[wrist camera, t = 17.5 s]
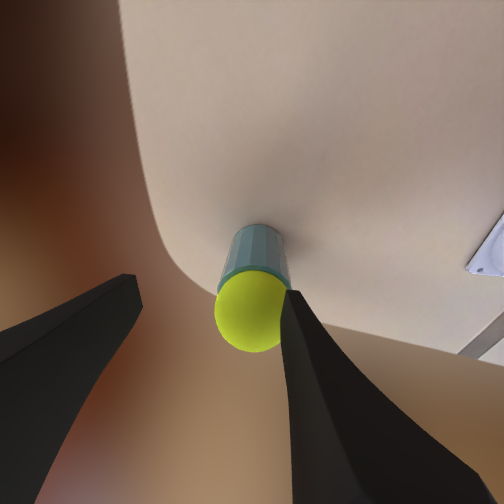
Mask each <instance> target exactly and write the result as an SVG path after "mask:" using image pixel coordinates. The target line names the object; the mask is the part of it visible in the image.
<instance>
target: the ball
mask: <svg viewBox="0 0 504 504" xmlns="http://www.w3.org/2000/svg"><path fill="white" fill-rule="evenodd" d="M286 289H287V288H286V286H285V285H284V284H283V283H282V282H281V281H280V280H279V279H278V278H277V277H275V276H274V275H272V274H270V273H267V272H264V271H259V270H248V271H244V272H241V273H238V274H236V275H234V276H233V277H231V278H230V279H229V280H228V281H227V282H226V283H225V284H224V285H223V287H222V288H221V290H220V291H219V293H218V296H217V299H216V303H215V319H216V324H217V326H218V329H219V331H220V332H221V334H222V336H223V337H224V338H225V339H226V340H227V341H228V342H229V343H230V344H231V345H233V346H234V347H236V348H238V349H240V350H243V351H247V352H262V351H265V350H268V349H270V348H273V347H274V346H276V345H277V344H278V343H280V342H281V341H280V317H281V312H282V307H283V302H284V297H285V292H286ZM287 290H288V289H287Z"/></svg>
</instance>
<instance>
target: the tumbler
mask: <svg viewBox="0 0 504 504" xmlns="http://www.w3.org/2000/svg"><path fill="white" fill-rule="evenodd" d="M248 270H259V271H264V272H267V273H270V274H272V275H274V276H275V277H277V278H278V279H279V280H280V281H281V282H282V283H283V284H284V285H285V286H286V288H287V289H288V290H293V289H292V284H291V278H290V273H289V267H288V262H287V256H286V251H285V247H284V242H283V240H282V238H281V236H280V235H279V234H278V233H277V232H276V231H275V230H274V229H272V228H270V227H268V226H265V225H250V226H247V227H245V228H243V229H241V230H240V231H239V232H238V233H237V234H236V235H235V237H234V239H233V241H232V243H231V246H230V249H229V252H228V256H227V259H226V262H225V265H224V268H223V272H222V275H221V278H220V281H219V284H218V293H219V291H220V290H221V288H222V287H223V285H224V284H225V283H226V282H227V281H228V280H229V279H230V278H231V277H233V276H234V275H236V274H238V273H241V272H244V271H248Z"/></svg>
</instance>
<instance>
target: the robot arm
mask: <svg viewBox="0 0 504 504" xmlns="http://www.w3.org/2000/svg"><path fill="white" fill-rule="evenodd" d="M466 271H468V272H469V273H472V274H482V275H492V276H502V277H504V214H503V216H502V217H501V219H500V220H499V221H498V223H497V224H496V226H495V227H494V229H493V230H492V231H491V233H490V234H489V236H488V237H487V239H486V240H485V241H484V243H483V244H482V246H481V247H480V249H479V250H478V251H477V253H476V254H475V256H474V257H473V259H472V260H471V261H470V263H469V264H468V266H467V267H466ZM142 308H143V305H142V301H141V296H140V292H139V288H138V284H137V280H136V276H135V275H131V274H121V275H119V276H117V277H115V278H112V279H111V280H108V281H106V282H104V283H103V284H101V285H99V286H97V287H95V288H93V289H91V290H89V291H87V292H85V293H83V294H81V295H79V296H77V297H75V298H73V299H71V300H69V301H68V302H65V303H63V304H61V305H59V306H57V307H55V308H53V309H51V310H49V311H47V312H45V313H42V314H41V315H38V316H36V317H34V318H32V319H29V320H27V321H25V322H22V323H20V324H18V325H16V326H13V327H11V328H8V329H6V330H3V331H1V332H0V504H34V503H35V500H36V498H37V495H38V494H39V491H40V489H41V487H42V485H43V483H44V481H45V479H46V476H47V474H48V472H49V470H50V467H51V466H52V463H53V462H54V460H55V458H56V456H57V454H58V451H59V450H60V447H61V445H62V444H63V442H64V439H65V438H66V436H67V434H68V432H69V430H70V428H71V426H72V424H73V422H74V420H75V419H76V417H77V415H78V413H79V411H80V409H81V407H82V406H83V404H84V402H85V400H86V398H87V397H88V395H89V393H90V391H91V390H92V388H93V386H94V384H95V382H96V381H97V379H98V378H99V376H100V375H101V373H102V371H103V370H104V369H105V367H106V366H107V364H108V363H109V361H110V360H111V358H112V357H113V356H114V354H115V353H116V351H117V350H118V348H119V347H120V345H121V344H122V342H123V341H124V339H125V338H126V336H127V335H128V334H129V332H130V331H131V329H132V327H133V326H134V324H135V322H136V320H137V318H138V316H139V314H140V312H141V310H142ZM280 341H281V348H282V356H283V363H284V370H285V378H286V385H287V392H288V402H289V418H290V419H289V420H290V439H291V464H292V492H293V493H292V494H293V504H497V502H496V501H495V499H494V497H493V496H492V494H491V493H490V491H489V490H488V488H487V487H486V485H485V483H484V482H483V481H482V479H481V478H480V476H479V475H478V473H476V472H475V471H474V470H473V469H471V468H470V467H469V466H468V465H466V464H465V463H464V462H462V461H461V460H460V459H459V458H458V457H456V456H455V455H454V454H452V453H451V452H450V451H449V450H448V449H446V448H445V447H444V446H443V445H442V444H440V443H439V442H438V441H437V440H435V439H434V438H433V437H431V436H430V435H429V434H428V433H427V432H426V431H424V430H423V429H422V428H421V427H420V426H419V425H417V424H416V423H415V422H414V421H413V420H412V419H411V418H409V417H408V416H407V415H406V414H405V413H404V412H403V411H401V410H400V409H399V408H398V407H397V406H396V405H395V404H394V403H393V402H392V401H390V400H389V399H388V398H387V397H386V396H385V395H384V394H383V393H382V392H381V391H380V390H379V389H378V388H377V387H376V386H375V385H374V384H373V383H372V382H371V381H370V380H369V379H367V377H366V376H365V375H364V374H363V373H362V372H361V371H360V370H359V369H358V368H357V367H356V366H355V365H354V364H353V362H352V361H351V360H350V359H349V358H348V357H347V356H346V355H345V354H344V352H342V350H341V349H340V347H339V346H338V345H337V344H336V343H335V342H334V340H333V339H332V338H331V336H330V335H329V334H328V332H327V331H326V330H325V328H324V327H323V326H322V324H321V323H320V321H319V320H318V319H317V317H316V316H315V314H314V313H313V311H312V310H311V308H310V307H309V305H308V304H307V302H306V300H305V299H304V297H303V296H302V294H301V292H300V291H298V290H287V289H286V292H285V297H284V302H283V307H282V312H281V317H280Z"/></svg>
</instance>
